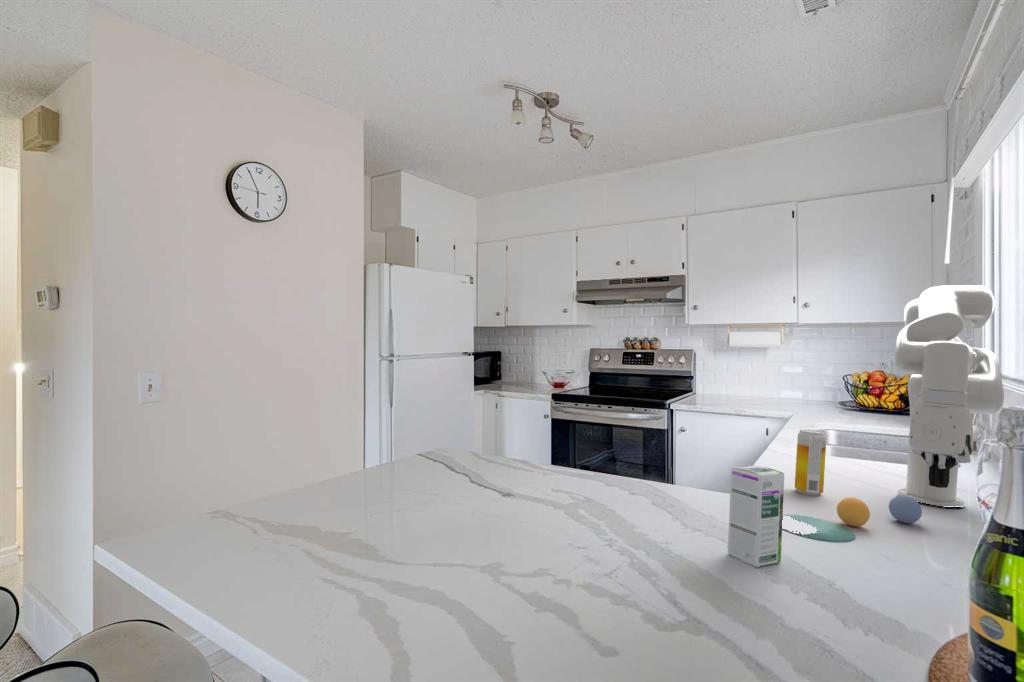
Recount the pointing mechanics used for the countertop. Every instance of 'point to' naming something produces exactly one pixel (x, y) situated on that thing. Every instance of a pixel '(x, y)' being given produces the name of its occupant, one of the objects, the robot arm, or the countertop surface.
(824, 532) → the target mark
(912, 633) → the countertop surface
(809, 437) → the drink can
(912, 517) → the blue ball
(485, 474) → the countertop surface
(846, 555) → the countertop surface
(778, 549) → the syrup box
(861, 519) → the orange ball
